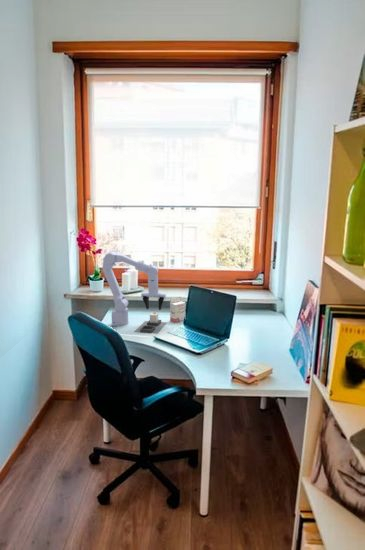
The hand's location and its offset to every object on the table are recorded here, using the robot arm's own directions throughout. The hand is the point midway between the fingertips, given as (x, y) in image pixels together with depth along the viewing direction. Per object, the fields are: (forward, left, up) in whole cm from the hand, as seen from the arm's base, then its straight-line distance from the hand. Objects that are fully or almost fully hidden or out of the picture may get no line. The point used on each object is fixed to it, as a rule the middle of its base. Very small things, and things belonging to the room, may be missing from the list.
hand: (153, 309), depth 241 cm
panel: (0, -6, -10) cm, 12 cm away
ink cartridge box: (+12, +10, -10) cm, 19 cm away
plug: (0, 0, -9) cm, 9 cm away
